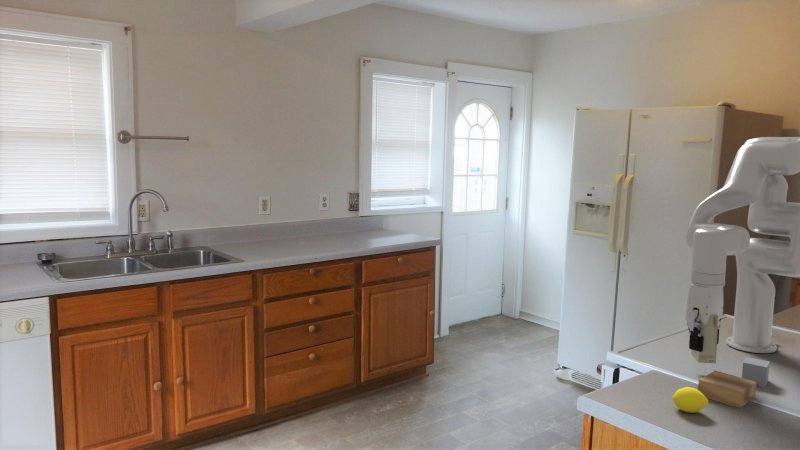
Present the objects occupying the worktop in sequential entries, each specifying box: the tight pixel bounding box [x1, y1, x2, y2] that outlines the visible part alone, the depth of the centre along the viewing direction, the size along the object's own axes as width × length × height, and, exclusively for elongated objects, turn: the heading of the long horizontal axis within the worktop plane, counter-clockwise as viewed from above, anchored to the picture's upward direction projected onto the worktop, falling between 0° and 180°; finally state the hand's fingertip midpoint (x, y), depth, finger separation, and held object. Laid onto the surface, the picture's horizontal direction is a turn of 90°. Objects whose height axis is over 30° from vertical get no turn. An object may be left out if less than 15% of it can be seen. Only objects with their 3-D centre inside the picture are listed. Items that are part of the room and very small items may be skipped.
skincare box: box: [690, 315, 718, 364], centre depth 147 cm, size 6×4×12 cm
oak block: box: [697, 370, 757, 409], centre depth 134 cm, size 9×9×4 cm
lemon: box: [672, 386, 709, 414], centre depth 126 cm, size 7×5×5 cm
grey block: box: [741, 356, 771, 388], centre depth 143 cm, size 5×5×5 cm
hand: (703, 346), depth 147 cm, fingers closed on skincare box, 7 cm apart
